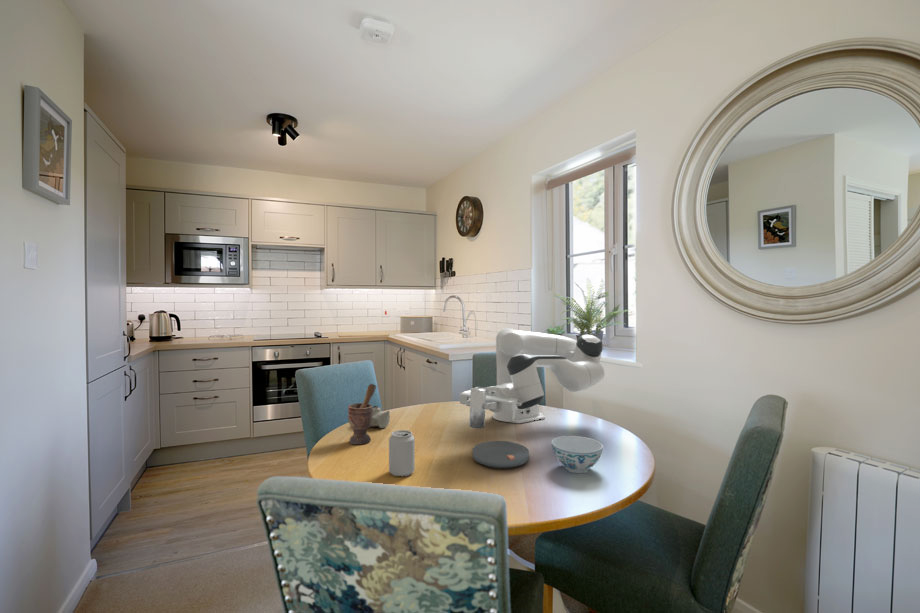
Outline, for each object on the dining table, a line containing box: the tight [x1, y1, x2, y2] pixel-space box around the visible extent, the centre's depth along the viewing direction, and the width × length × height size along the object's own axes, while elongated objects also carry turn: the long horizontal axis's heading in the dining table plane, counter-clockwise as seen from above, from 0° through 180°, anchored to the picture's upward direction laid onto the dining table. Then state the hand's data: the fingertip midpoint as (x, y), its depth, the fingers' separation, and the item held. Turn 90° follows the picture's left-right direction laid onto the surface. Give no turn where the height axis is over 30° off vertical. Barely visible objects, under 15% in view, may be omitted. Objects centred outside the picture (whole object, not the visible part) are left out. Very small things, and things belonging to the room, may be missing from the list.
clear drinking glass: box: [468, 387, 486, 430], centre depth 137 cm, size 5×5×12 cm
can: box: [388, 429, 416, 478], centre depth 126 cm, size 8×8×12 cm
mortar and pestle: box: [347, 383, 377, 445], centre depth 156 cm, size 12×9×20 cm
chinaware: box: [551, 435, 604, 474], centre depth 129 cm, size 15×15×8 cm
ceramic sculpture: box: [369, 405, 391, 429], centre depth 173 cm, size 11×9×15 cm
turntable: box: [472, 440, 530, 468], centre depth 136 cm, size 18×18×3 cm
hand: (476, 405), depth 137 cm, fingers closed on clear drinking glass, 5 cm apart
